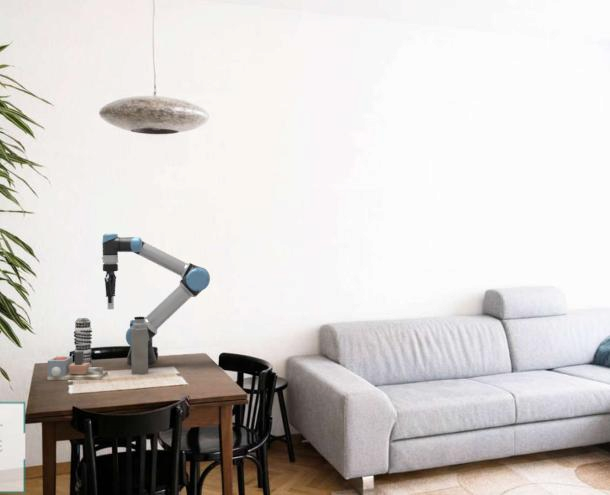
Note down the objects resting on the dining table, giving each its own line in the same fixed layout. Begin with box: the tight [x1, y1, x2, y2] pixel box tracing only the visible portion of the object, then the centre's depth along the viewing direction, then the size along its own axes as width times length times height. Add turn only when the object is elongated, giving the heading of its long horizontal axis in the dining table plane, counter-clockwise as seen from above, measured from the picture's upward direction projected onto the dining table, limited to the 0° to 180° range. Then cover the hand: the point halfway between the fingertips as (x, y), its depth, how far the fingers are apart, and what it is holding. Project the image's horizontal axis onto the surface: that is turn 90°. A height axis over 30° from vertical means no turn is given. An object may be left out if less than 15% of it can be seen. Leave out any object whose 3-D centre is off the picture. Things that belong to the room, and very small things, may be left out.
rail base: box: [46, 366, 109, 381], centre depth 314 cm, size 25×12×4 cm, turn 90°
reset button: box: [54, 356, 67, 360], centre depth 314 cm, size 5×5×3 cm
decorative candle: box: [73, 317, 93, 367], centre depth 341 cm, size 9×9×25 cm
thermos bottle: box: [130, 316, 149, 375], centre depth 323 cm, size 8×8×28 cm
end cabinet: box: [47, 356, 74, 377], centre depth 314 cm, size 8×11×9 cm
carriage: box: [68, 351, 91, 374], centre depth 314 cm, size 8×7×10 cm
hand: (110, 309), depth 336 cm, fingers closed
